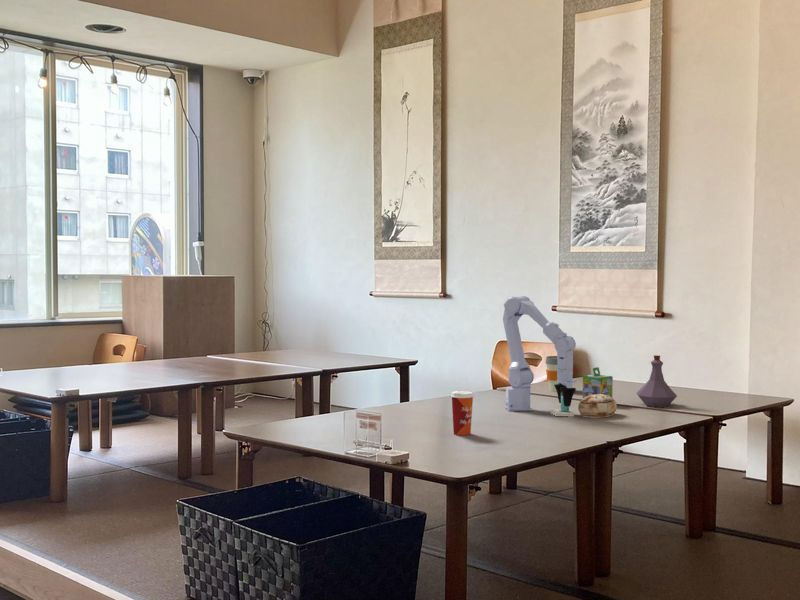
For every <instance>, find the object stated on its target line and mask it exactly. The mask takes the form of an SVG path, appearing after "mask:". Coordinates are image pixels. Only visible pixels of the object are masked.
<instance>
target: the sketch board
mask: <svg viewBox="0 0 800 600" xmlns="http://www.w3.org/2000/svg"><path fill="white" fill-rule="evenodd" d="M549 413H550V414H551V415H552V414H553V415H552V416H554V415H555V416H568V417H575V413H574V412H573V411H571V410H570V409H569V412H561V409H550V411H549ZM555 416H554V417H555Z"/></svg>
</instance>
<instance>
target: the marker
mask: <svg viewBox="0 0 800 600" xmlns="http://www.w3.org/2000/svg"><path fill="white" fill-rule="evenodd" d="M560 410H561V412H569V410H570V406H564V402H563V395H562V393H561V403H560Z"/></svg>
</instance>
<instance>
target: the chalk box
mask: <svg viewBox="0 0 800 600" xmlns="http://www.w3.org/2000/svg"><path fill="white" fill-rule="evenodd" d="M592 371H593V374H588V375H582V399H583V398H585V397H586V396H588V395H595V394H603V395H607V396H610V397H612V398H613V382H614V380H613V378H614V377H613V376H612V375H604V374H601V372H600V367H598V366H597V367H593V368H592ZM596 371H597V373H596Z"/></svg>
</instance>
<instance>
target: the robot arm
mask: <svg viewBox="0 0 800 600" xmlns="http://www.w3.org/2000/svg"><path fill="white" fill-rule="evenodd" d="M503 309H504V311H503V316H502V322H503V328H504V333H505V337H506V342H507V348H508V352H509V358H510V363H511V364H510V366H509V367H508V376H507V377H508V382H509V384H510V386H507V387H505V406H504V407H505V409H506V410H507V411H509V412H512V411H513V412H515V411H516V412H517V411H525V412H526V411H531V412H533V410H534V409H533V408H532V407H531V386H532V383H533V382H534V378H535V375H534V373H533V371H532V370H531V366H530V364H529V363H528V362H527V361H526V358H525V352H524V348H523V343H522V339H521V332H520V328H519V323H518V321H519V320H520V319H521V317H522V316H523V315H526V316H529V317H530V318H531V319H532V320H533V321H534V322H535V323H537V324H538V325H539V326H540V328H542V333H543V335H545V336H546V338H547V339H548V340H550V341H551V343H552V344H553V346H554V349H555V351H556V356H557V383H559V384H555V385H554V386H555V388H556V391H557V392H556V394H557V399H558V403H559V404H561V393H562V395H563V402H564V406H569V407H571V404H572V399H573V398H574V397H573V396H574V393H576V390H577V388H576V387H573V383H576V382H577V381H576V380H575V379H573V377H574V376H573V375H574V364H573V359H574V350H575V349H576V345H577V344H576V340H575V339H574V337H573V336H569V335H568V334H567V333H566V332H564V331H563V330H562V329H561V328H560V327H559V326H560V325H559V324H558V323H555V322H554V321H553V322H551V321H549V320H548V319H547V317H545V315H544V314H543V313H542V312H541V311H540V309H538V307H537V306H536V305H535V303H534V302H533V301H532V300H531V299H530V298H529V297H528V296H525V295H523V296H510V297H508V298H507V299H506V300H505V302H504V304H503Z"/></svg>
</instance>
